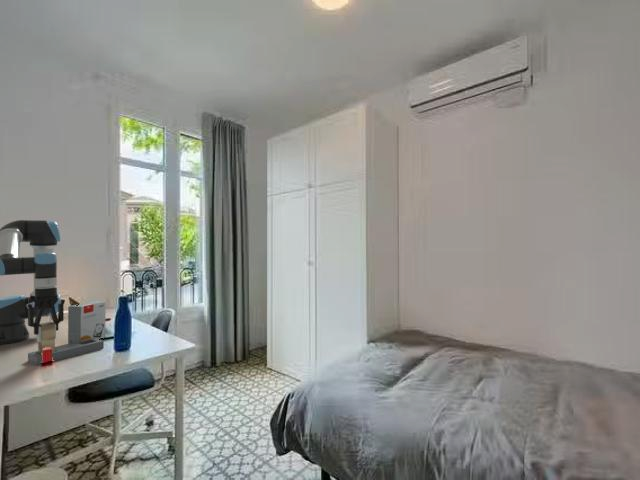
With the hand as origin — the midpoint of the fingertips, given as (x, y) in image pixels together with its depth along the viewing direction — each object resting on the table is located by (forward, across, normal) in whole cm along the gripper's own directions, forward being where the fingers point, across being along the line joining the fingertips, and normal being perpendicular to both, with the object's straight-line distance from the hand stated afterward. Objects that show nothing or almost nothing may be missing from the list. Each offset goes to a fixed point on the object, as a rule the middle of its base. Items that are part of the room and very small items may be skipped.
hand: (46, 339), depth 145 cm
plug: (+6, 0, 0) cm, 6 cm away
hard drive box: (+9, +22, +14) cm, 28 cm away
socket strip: (+9, +8, 0) cm, 12 cm away
